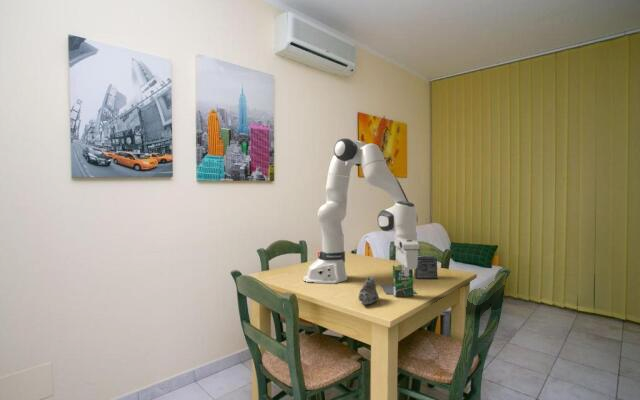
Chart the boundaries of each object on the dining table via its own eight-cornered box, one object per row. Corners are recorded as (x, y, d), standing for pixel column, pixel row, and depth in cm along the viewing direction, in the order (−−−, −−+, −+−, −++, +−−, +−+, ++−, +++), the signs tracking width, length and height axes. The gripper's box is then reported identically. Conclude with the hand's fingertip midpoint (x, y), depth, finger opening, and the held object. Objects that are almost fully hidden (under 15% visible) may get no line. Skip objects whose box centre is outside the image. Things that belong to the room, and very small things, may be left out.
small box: (434, 276, 177) (434, 256, 176) (437, 279, 170) (437, 258, 170) (413, 276, 178) (413, 255, 177) (416, 279, 171) (416, 258, 171)
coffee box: (395, 297, 142) (394, 266, 141) (392, 295, 145) (392, 264, 144) (413, 296, 143) (413, 265, 142) (410, 294, 146) (410, 263, 145)
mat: (386, 294, 146) (386, 293, 146) (380, 285, 160) (380, 284, 160) (416, 293, 146) (416, 293, 146) (408, 285, 160) (408, 284, 160)
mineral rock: (363, 308, 129) (363, 282, 129) (345, 301, 138) (345, 276, 137) (387, 302, 136) (387, 277, 136) (369, 295, 145) (369, 272, 145)
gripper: (392, 238, 148) (392, 269, 149) (403, 245, 128) (404, 282, 128) (406, 238, 148) (406, 269, 149) (420, 245, 128) (420, 282, 128)
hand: (405, 275), depth 138 cm, fingers closed
